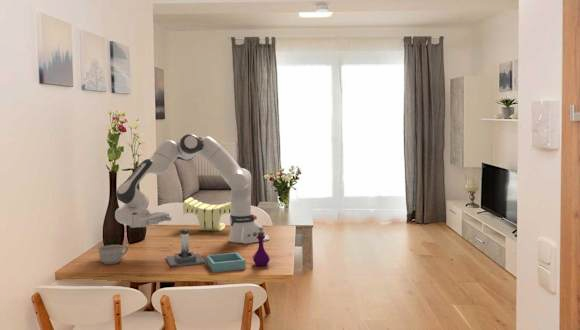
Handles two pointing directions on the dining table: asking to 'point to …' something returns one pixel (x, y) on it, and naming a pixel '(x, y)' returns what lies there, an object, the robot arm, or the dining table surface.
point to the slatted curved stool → (207, 213)
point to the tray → (225, 262)
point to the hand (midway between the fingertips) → (163, 220)
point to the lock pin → (184, 242)
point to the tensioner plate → (185, 259)
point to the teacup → (112, 253)
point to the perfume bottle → (261, 251)
